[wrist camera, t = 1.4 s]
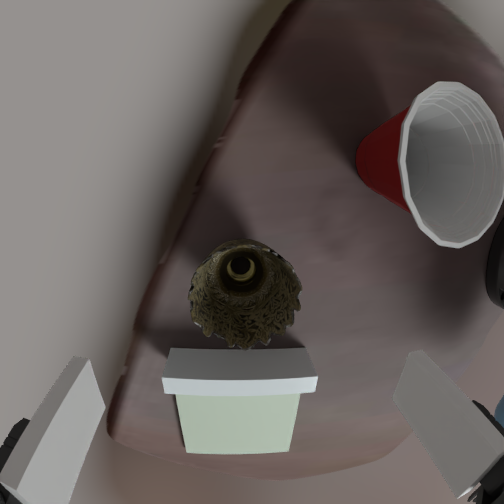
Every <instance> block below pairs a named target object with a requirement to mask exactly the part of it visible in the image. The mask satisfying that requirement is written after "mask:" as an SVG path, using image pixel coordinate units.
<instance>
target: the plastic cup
mask: <svg viewBox="0 0 504 504" xmlns="http://www.w3.org/2000/svg"><path fill="white" fill-rule="evenodd" d="M356 166H357V170H358V174H359V176H360V177H361V179H362V180H363V182H364V183H365V184H366V185H367V186H368V187H369V188H371V189H372V190H373V191H375V192H376V193H378V194H380V195H382V196H384V197H385V198H386V199H388V200H389V201H391V202H393V203H394V204H396V205H398V206H399V207H401V208H403V209H404V210H406V211H407V212H409V213H410V214H412V216H413V218H414V220H415V222H416V224H417V226H418V227H419V228H420V229H421V230H422V231H423V232H424V233H425V234H426V235H428V236H429V237H430V238H431V239H432V240H433V241H434V242H436V243H437V244H438V245H440V246H447V247H453V248H461V247H463V246H466V245H468V244H470V243H472V242H475V241H477V240H478V239H479V238H480V237H481V236H482V235H483V234H484V233H485V232H486V230H487V229H488V228H489V227H490V226H491V225H492V223H493V222H494V220H495V218H496V215H497V213H498V211H499V209H500V206H501V204H502V201H503V199H504V139H503V136H502V133H501V130H500V128H499V125H498V122H497V120H496V117H495V115H494V114H493V112H492V111H491V110H490V108H489V107H488V106H487V104H486V103H485V102H484V100H483V99H482V98H481V96H480V95H479V94H477V93H476V92H474V91H473V90H471V89H470V88H468V87H466V86H465V85H463V84H461V83H460V82H436V83H435V84H433V85H432V86H430V87H429V88H428V89H426V90H425V91H423V92H422V93H420V94H419V95H418V96H416V97H415V98H414V100H413V102H412V104H411V105H410V106H409V107H408V108H406V109H405V110H404V111H402V112H401V113H399V114H398V115H396V116H394V117H393V118H391V119H390V120H388V121H387V122H385V123H383V124H382V125H381V126H379V127H378V128H377V129H375V130H374V131H373V132H372V133H370V134H369V135H368V136H366V137H365V138H364V139H363V140H362V141H361V143H360V145H359V147H358V149H357V152H356Z"/></svg>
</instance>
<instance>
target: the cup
mask: <svg viewBox="0 0 504 504" xmlns="http://www.w3.org/2000/svg"><path fill="white" fill-rule="evenodd" d="M237 257H244V258H246V259H247V260H248V261H249V263H250V267H249V270H248V271H247V272H246V273H244V274H237V273H235V272H234V271H233V270H232V266H231V265H232V262H233V260H234V259H235V258H237ZM294 271H295V270H294V268H293V267H292V265H291V264H290V263H289V262H288V261H286V260H285V259H284V258H283V257H281V256H280V255H279V254H278V253H276V252H275V251H274V250H272V249H271V248H269V247H268V246H266V245H264V244H262V243H260V242H257V241H254V240H250V239H236V240H231V241H228V242H226V243H223V244H221V245H220V246H218V247H217V248H215V249H214V250H213V251H212V252H211V253H210V254H209V255H208V256H207V257H206V259H205V260H204V261H203V262H202V264H201V265H200V266H199V267H198V268H197V269H196V272H195V273H194V275H193V278H192V280H191V288H190V290H189V295H188V300H190V303H191V308H190V312H191V317H192V320H193V322H194V323H195V324H196V325H198V326H199V327H201V328H202V332H203V334H204V335H205V336H206V337H210V335H212V333H214V334H216V335H217V337H218V338H223V339H225V341H226V342H227V346H228V347H230V348H232V347H234V346H235V344H236V345H237V346H238V347H240V348H241V349H242V350H244V351H247V350H250V349H251V348H253V347H254V346H255V344H256V343H258V342H260V341H261V342H262V344H264V345H265V346H267V345H268V344H269V342H270V341H271V334H273V335H275V336H276V335H279V336H282V335H284V333H285V329H286V328H287V327H290V326H292V325H293V323H294V310H296V311H297V312H298V311H300V309H301V305H300V302H299V299H298V298H299V295H300V294H301V293H302V285H301V283H300V281H299V279H298V277H297V275H296V274H295V272H294Z"/></svg>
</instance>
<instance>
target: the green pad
mask: <svg viewBox="0 0 504 504" xmlns="http://www.w3.org/2000/svg"><path fill="white" fill-rule="evenodd" d="M299 398H300V393H297V394H284V395H264V396H199V395H180V394H176V400H177V406H178V411H179V417H180V422H181V427H182V432H183V437H184V442H185V447H186V451H187V453H202V454H257V453H274V452H286V451H289V446H290V442H291V437H292V433H293V428H294V423H295V418H296V413H297V408H298V403H299Z"/></svg>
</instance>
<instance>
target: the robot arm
mask: <svg viewBox="0 0 504 504" xmlns="http://www.w3.org/2000/svg"><path fill="white" fill-rule="evenodd" d="M487 290H488V294H489V297H490V299H491V301H492V302H493V303H494V304H496V305H497V306H499V307H501V308H502V309H504V219H503V220H502V222H501V224H500V226H499V228H498V230H497V232H496V234H495V237H494V240H493V243H492V246H491V250H490V254H489V259H488V266H487ZM392 400H393V401H394V403H395V404H396V406H397V407H398V408H399V410H400V411H401V413H402V414H403V416H404V417H405V419H406V420H407V422H408V423H409V425H410V426H411V428H412V429H413V431H414V432H415V434H416V435H417V437H418V438H419V440H420V442H421V443H422V445H423V446H424V448H425V449H426V451H427V452H428V454H429V455H430V457H431V458H432V460H433V462H434V463H435V465H436V466H437V468H438V469H439V471H440V472H441V474H442V476H443V477H444V479H445V480H446V482H447V484H448V485H449V487H450V489H451V490H452V492H453V493H454V495H455V497H456V498H457V499H458V498H459V497H461V496H463V495H464V494H466V493H468V492H469V491H471V490H472V489H473V488H474V487H475V486H476V485H477V484H478V483H479V482H480V483H481V486H480V487H479V488H478V489H477V490H476V491H474V492H473V493H472V494H471V496H470V497H469V499H468V502H470V501H471V500H472V499H473V498H474V497H475V496H476V495H477V497H476V498H475V499H474V500H473V502H476V504H504V395H503V397H502V399H501V400H500V402H499V403H498V405H497V407H496V409H495V415H494V417H493V416H492V415H490V413H489V411H488V410H487V409H486V408H485V407H484V406H483V405H481V404H480V403H478V402H476V401H474V400H473V401H471V400H470V399H469V398H468V397H467V396H466V395H465V394H464V392H463V391H462V390H461V389H459V387H458V386H457V385H456V384H455V383H454V382H453V381H452V380H451V379H450V378H449V377H448V376H447V375H446V374H445V373H444V372H443V371H442V370H441V368H440V367H439V366H438V365H437V364H436V363H435V362H434V361H433V360H432V359H431V358H430V357H429V356H428V355H427V354H426V353H425V352H424V351H423V350H418V351H413V352H409V354H408V357H407V360H406V362H405V365H404V368H403V371H402V374H401V376H400V379H399V382H398V384H397V387H396V389H395V392H394V394H393V397H392ZM104 410H105V405H104V402H103V399H102V396H101V394H100V391H99V388H98V385H97V382H96V379H95V376H94V373H93V369H92V366H91V363H90V360H89V359H88V358H82V357H75V356H74V357H73V358H72V359H71V361H70V362H69V363H68V365H67V366H66V368H65V369H64V370H63V372H62V373H61V375H60V376H59V378H58V379H57V380H56V382H55V383H54V385H53V386H52V388H51V389H50V391H49V392H48V394H47V395H46V397H45V398H44V400H43V402H42V403H41V405H40V406H39V408H38V409H37V411H36V413H35V414H34V416H33V417H32V419H31V420H28V419H25V418H23V419H22V420H20V421H19V422H18V423H17V424H15V425H14V426H13V428H12V430H11V431H10V433H9V434H8V437H7V438H6V439H5V441H4V445H2V446H1V448H0V504H69V501H70V498H71V495H72V492H73V489H74V487H75V484H76V481H77V478H78V475H79V473H80V470H81V467H82V464H83V462H84V459H85V456H86V454H87V451H88V449H89V446H90V444H91V441H92V439H93V436H94V434H95V431H96V429H97V426H98V424H99V422H100V419H101V417H102V414H103V412H104Z"/></svg>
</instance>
